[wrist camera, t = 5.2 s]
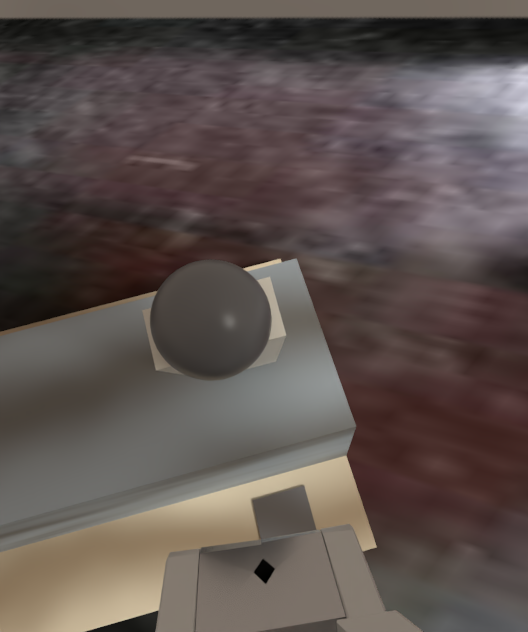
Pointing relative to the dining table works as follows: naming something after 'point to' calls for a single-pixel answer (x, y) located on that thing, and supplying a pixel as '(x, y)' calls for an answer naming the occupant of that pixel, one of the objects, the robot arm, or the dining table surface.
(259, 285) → the lever
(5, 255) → the dining table surface
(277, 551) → the robot arm
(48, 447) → the switch box
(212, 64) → the dining table surface
